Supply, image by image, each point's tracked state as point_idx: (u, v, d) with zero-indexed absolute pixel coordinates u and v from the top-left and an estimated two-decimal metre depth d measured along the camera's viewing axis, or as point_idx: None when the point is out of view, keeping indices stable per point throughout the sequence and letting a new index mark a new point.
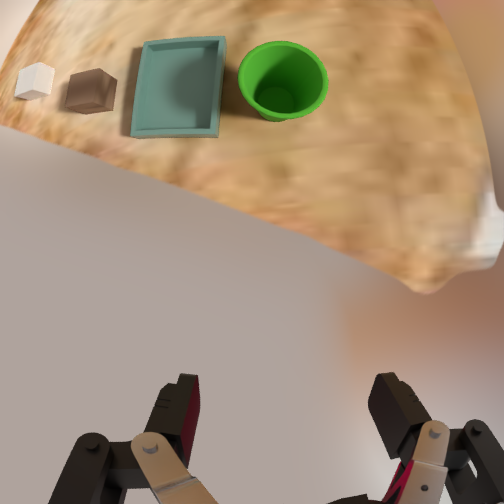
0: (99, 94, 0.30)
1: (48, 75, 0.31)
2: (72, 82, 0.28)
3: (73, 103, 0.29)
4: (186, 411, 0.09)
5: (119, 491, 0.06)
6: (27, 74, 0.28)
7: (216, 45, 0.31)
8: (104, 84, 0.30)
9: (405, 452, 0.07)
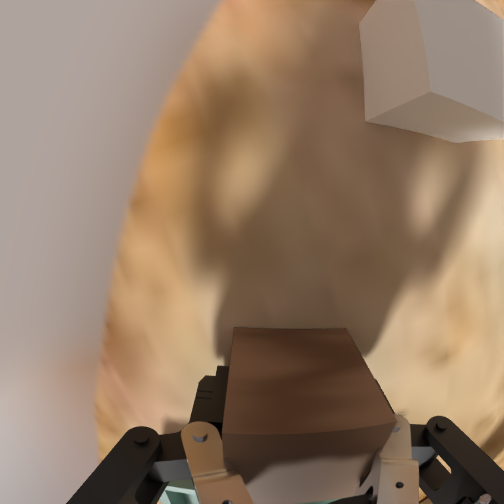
0: None
1: (449, 132, 0.09)
2: (347, 443, 0.07)
3: (235, 463, 0.07)
4: None
5: (158, 486, 0.07)
6: (496, 59, 0.05)
7: None
8: None
9: None
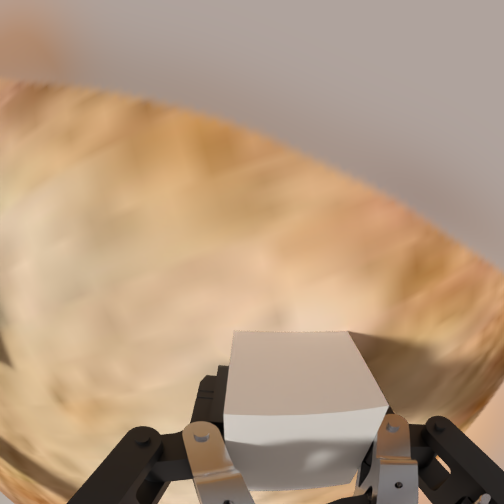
0: None
1: None
2: None
3: None
4: None
5: (159, 486, 0.07)
6: (293, 471, 0.08)
7: None
8: None
9: None
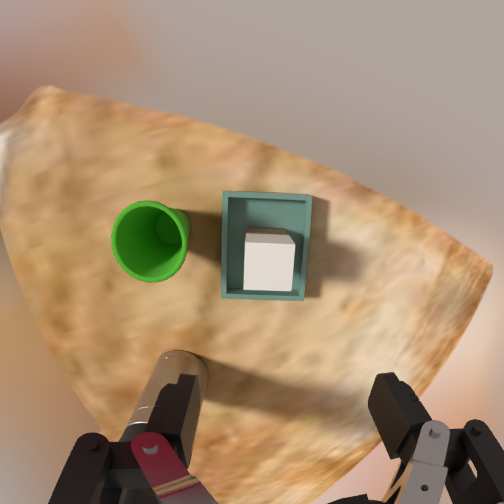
0: None
1: None
2: None
3: None
4: (186, 411, 0.09)
5: (119, 491, 0.06)
6: (267, 275, 0.29)
7: (231, 289, 0.41)
8: None
9: (405, 451, 0.08)
